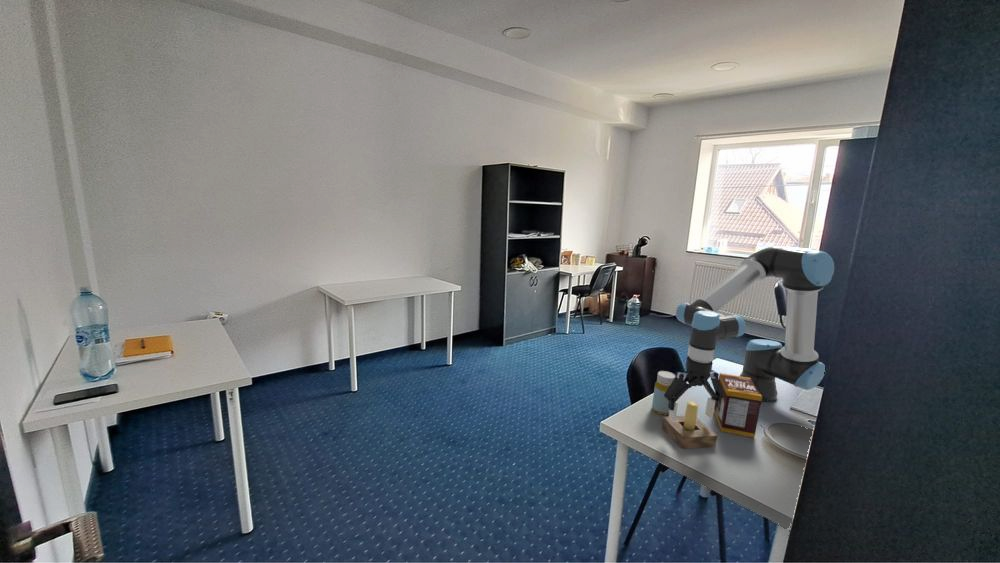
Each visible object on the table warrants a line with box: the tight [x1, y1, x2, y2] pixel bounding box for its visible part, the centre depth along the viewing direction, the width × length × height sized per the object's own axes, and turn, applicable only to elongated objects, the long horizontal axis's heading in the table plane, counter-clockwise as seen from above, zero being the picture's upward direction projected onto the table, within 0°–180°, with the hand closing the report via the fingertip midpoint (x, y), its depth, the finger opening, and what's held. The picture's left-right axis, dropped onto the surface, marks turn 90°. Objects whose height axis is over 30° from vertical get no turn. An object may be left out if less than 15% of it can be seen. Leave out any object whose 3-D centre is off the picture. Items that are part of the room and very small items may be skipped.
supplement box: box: [713, 372, 763, 438], centre depth 139 cm, size 10×15×16 cm
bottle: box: [651, 370, 676, 416], centre depth 145 cm, size 7×7×15 cm
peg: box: [683, 401, 699, 431], centre depth 130 cm, size 3×3×12 cm
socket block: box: [661, 415, 718, 449], centre depth 131 cm, size 12×12×4 cm
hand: (690, 417), depth 130 cm, fingers open, 13 cm apart
